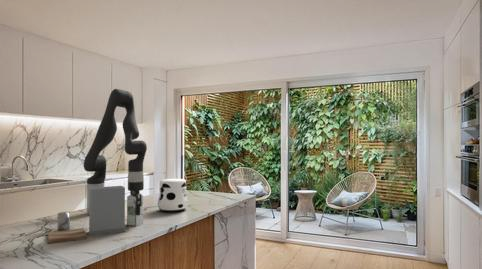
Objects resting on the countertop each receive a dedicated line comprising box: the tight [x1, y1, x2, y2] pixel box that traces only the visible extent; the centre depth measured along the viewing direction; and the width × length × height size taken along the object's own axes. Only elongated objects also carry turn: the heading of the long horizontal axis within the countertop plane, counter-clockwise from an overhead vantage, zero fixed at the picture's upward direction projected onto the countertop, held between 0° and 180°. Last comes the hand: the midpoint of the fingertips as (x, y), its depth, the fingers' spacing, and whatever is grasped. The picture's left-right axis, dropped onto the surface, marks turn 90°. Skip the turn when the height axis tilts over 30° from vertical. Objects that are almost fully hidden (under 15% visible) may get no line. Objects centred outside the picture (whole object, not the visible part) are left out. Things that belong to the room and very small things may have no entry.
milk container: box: [157, 178, 188, 213], centre depth 197 cm, size 17×17×18 cm
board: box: [48, 227, 88, 244], centre depth 142 cm, size 14×14×1 cm
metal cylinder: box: [57, 211, 71, 231], centre depth 153 cm, size 5×5×8 cm
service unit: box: [88, 185, 126, 237], centre depth 150 cm, size 9×14×20 cm, turn 120°
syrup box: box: [126, 194, 144, 227], centre depth 163 cm, size 6×6×14 cm
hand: (135, 213), depth 163 cm, fingers closed on syrup box, 8 cm apart
